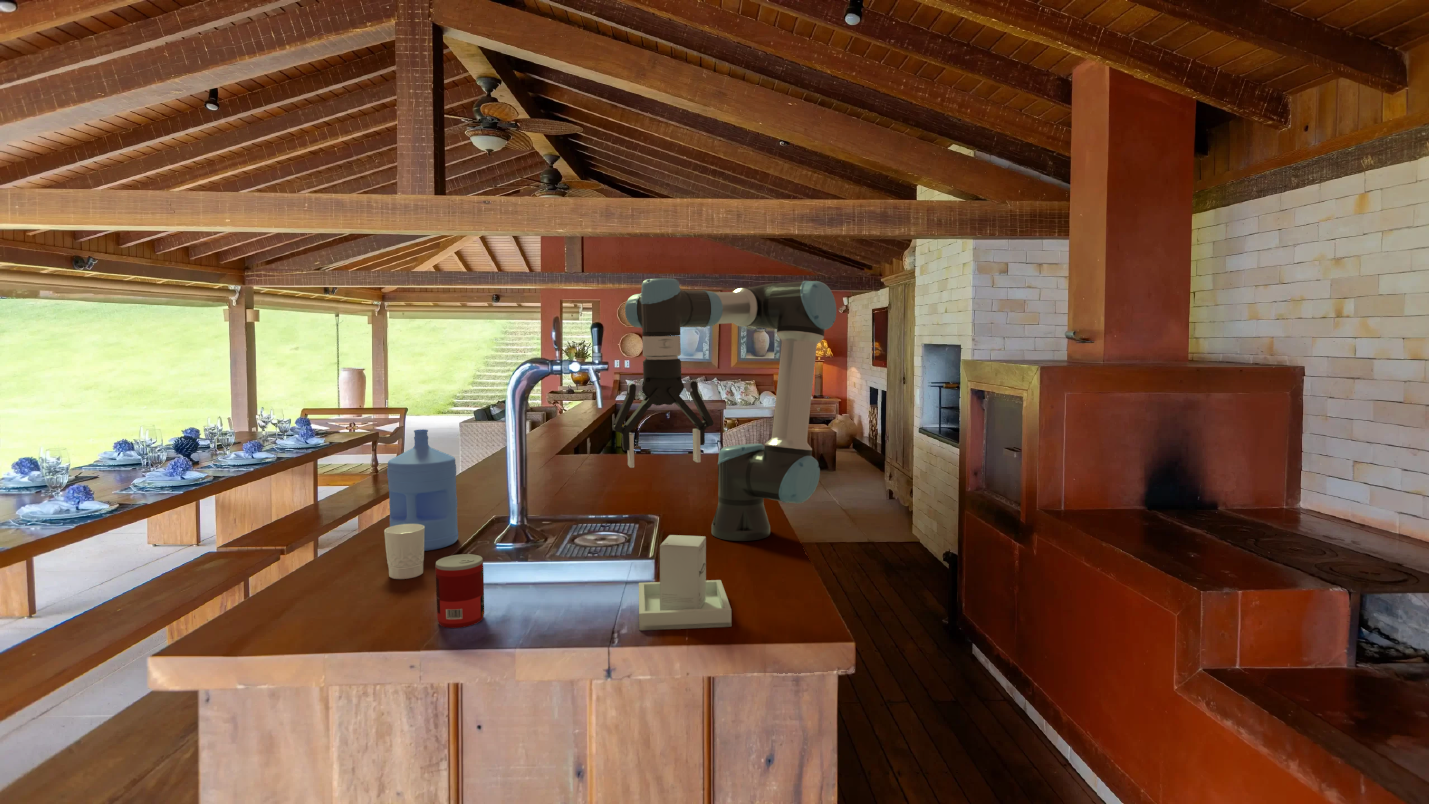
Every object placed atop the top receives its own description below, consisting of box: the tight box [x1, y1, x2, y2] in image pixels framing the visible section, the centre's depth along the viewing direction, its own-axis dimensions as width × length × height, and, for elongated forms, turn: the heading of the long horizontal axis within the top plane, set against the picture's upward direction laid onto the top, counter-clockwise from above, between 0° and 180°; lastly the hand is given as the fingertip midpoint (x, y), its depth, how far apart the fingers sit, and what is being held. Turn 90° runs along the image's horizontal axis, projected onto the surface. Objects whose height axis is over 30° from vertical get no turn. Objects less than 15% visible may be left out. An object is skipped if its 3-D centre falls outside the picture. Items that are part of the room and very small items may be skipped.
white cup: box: [383, 524, 425, 580], centre depth 155 cm, size 8×8×10 cm
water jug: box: [386, 428, 459, 552], centre depth 178 cm, size 16×16×28 cm
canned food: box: [435, 553, 485, 629], centre depth 130 cm, size 8×8×11 cm
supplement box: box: [659, 534, 707, 611], centre depth 134 cm, size 7×7×13 cm
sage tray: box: [638, 579, 732, 631], centre depth 134 cm, size 16×16×3 cm
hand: (664, 464), depth 146 cm, fingers open, 13 cm apart
